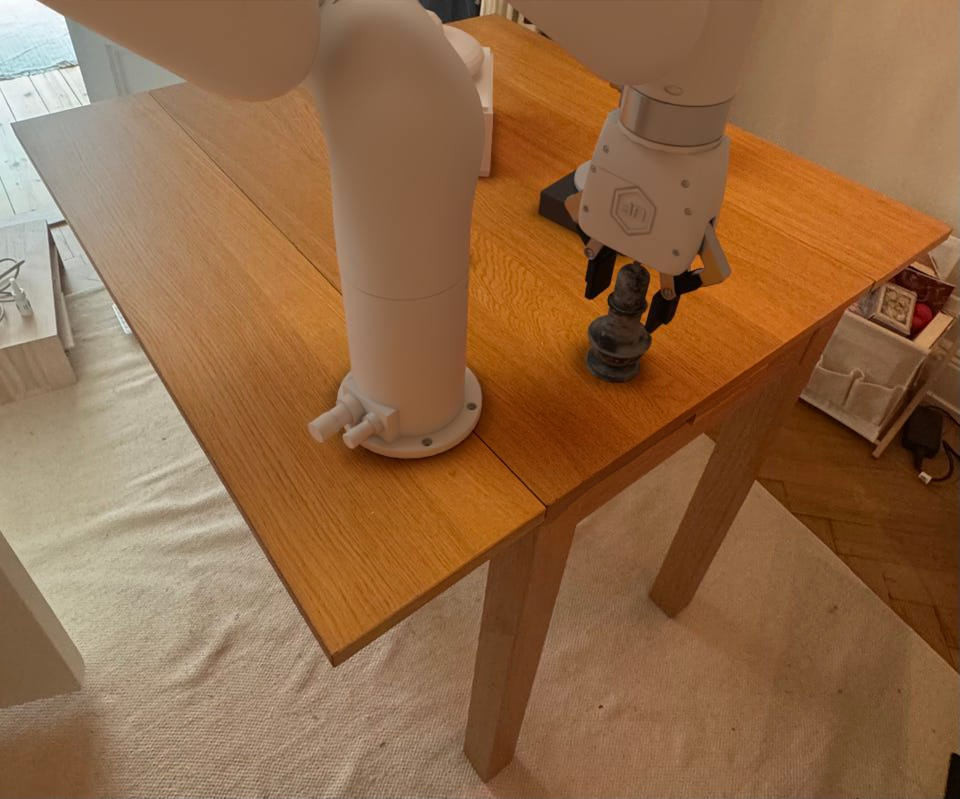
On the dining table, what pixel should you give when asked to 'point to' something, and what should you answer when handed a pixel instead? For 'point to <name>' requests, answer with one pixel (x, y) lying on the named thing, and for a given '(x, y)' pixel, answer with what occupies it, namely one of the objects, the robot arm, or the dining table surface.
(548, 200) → the scale
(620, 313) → the dark grey finial
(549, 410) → the dining table surface
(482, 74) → the butter dish
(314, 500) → the dining table surface
